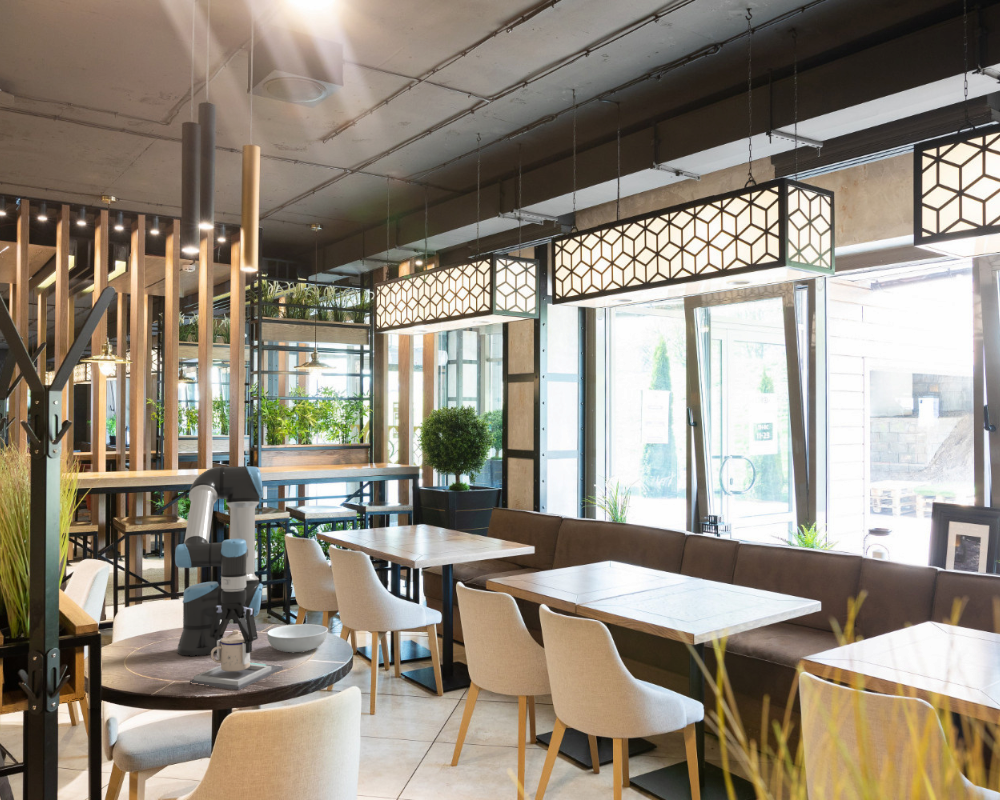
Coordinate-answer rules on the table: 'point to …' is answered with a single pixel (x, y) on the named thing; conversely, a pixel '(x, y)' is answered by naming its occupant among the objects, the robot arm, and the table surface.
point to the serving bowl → (297, 637)
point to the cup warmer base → (235, 676)
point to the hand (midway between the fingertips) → (233, 661)
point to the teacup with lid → (231, 652)
